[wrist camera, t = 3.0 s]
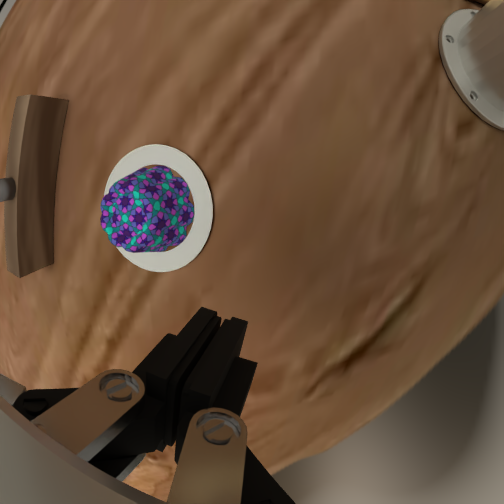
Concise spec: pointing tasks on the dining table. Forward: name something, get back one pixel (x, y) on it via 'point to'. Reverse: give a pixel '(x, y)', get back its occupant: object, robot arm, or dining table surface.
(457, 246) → the dining table surface
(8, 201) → the rail
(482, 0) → the wooden plate with food
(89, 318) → the dining table surface
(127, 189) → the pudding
